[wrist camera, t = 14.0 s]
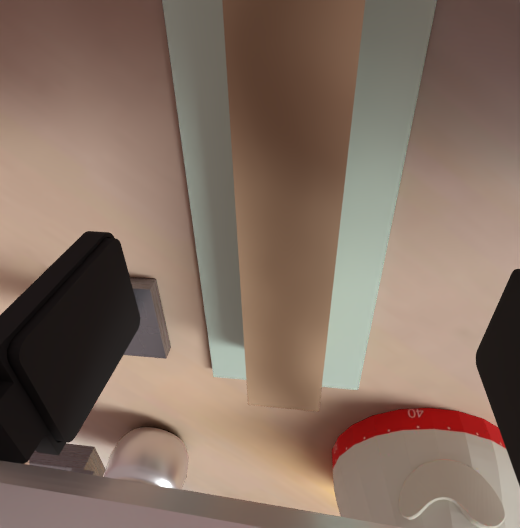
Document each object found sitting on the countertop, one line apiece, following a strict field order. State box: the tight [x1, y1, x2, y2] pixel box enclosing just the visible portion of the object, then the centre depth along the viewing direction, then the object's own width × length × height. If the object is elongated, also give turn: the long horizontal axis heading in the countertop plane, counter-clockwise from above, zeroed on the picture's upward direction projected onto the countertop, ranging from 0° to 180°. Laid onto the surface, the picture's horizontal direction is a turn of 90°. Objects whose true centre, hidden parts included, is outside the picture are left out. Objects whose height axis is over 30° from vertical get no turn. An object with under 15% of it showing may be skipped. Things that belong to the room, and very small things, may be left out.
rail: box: [222, 0, 365, 412], centre depth 16 cm, size 4×26×4 cm, turn 1°
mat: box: [162, 0, 437, 390], centre depth 18 cm, size 10×32×1 cm, turn 1°
